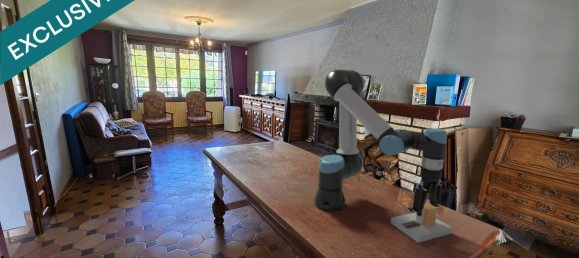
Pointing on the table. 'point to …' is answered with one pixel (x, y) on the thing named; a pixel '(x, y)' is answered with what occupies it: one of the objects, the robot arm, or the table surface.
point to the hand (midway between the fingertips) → (424, 221)
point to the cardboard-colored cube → (429, 215)
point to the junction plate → (420, 228)
